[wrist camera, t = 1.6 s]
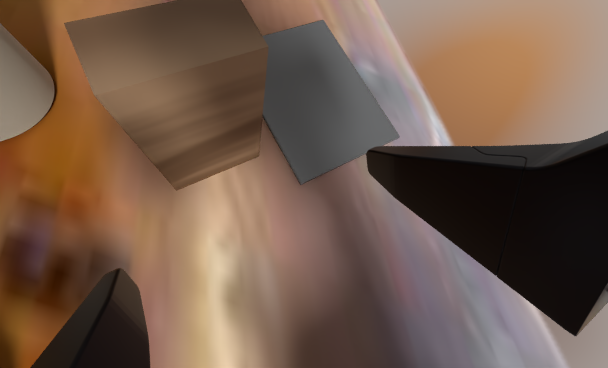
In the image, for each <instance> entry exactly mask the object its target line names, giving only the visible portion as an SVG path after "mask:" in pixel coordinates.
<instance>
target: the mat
mask: <svg viewBox="0 0 608 368" xmlns="http://www.w3.org/2000/svg"><path fill="white" fill-rule="evenodd" d="M263 38H264V40H265V41H266V43H267V45H268V46H269V48H268V59H267V70H266V81H265V93H264V104H263V115H262V116H263V118H264V120H265V121H266V123H267V125H268V127H269V129H270V131H271V132H272V134H273V136H274V138H275V140H276V141H277V143H278V145H279V147H280V149H281V150H282V152H283V154H284V156H285V158H286V159H287V161H288V163H289V165H290V167H291V168H292V170H293V172H294V174H295V176H296V177H297V179H298V181H299V183H300V185H301V184H303V183H305V182H307V181H309V180H312V179H314V178H316V177H318V176H320V175H322V174H324V173H326V172H328V171H330V170H333V169H335V168H337V167H339V166H341V165H343V164H345V163H347V162H349V161H351V160H353V159H356V158H358V157H360V156H362V155H364V154H366V153H367V151H368V150H369V149H371V148H373V147H376V146H383V145H385V144H387V143H389V142H391V141H393V140H395V139H397V138H399V137H400V136H399V134H398V133H397V131H396V130H395V128H394V127H393V125H392V124H391V122H390V121H389V119H388V118H387V116H386V115H385V113H384V112H383V110H382V109H381V107H380V105H379V104H378V102H377V101H376V99H375V98H374V96H373V95H372V93H371V92H370V90H369V89H368V87H367V86H366V84H365V83H364V81H363V80H362V78H361V77H360V75H359V74H358V72H357V71H356V69H355V67H354V66H353V64H352V63H351V61H350V60H349V58H348V57H347V55H346V54H345V52H344V51H343V49H342V48H341V46H340V45H339V43H338V42H337V40H336V39H335V37H334V36H333V34H332V33H331V31H330V29H329V28H328V26H327V25H326V23H325V22H324V20H321V21H317V22H314V23H310V24H306V25H302V26H299V27H295V28H291V29H287V30H284V31H280V32H276V33H272V34H269V35H265V36H263Z"/></svg>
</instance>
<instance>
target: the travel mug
mask: <svg viewBox="0 0 608 368" xmlns="http://www.w3.org/2000/svg"><path fill="white" fill-rule="evenodd" d="M53 99H54V83H53V80H52V78H51V76H50V74H49V73H48V71H47V70H46V69H45V68H44V67H43V66H42V65H41V64H40V63H39V62H38V61H37V60H36V59H35V58H34V57H33V56H32V55H31V54H30V53H29V52H28V51H27V50H26V49H25V48H24V47H23V46H22V45H21V44H20V43H19V42H18V41H17V40H16V39H15V38H14V37H13V36H12V35H11V34H10V33H9V32H8V31H7V30H6V29H5V28H4V27H3V26H2V24H1V23H0V141H3V140H6V139H9V138H12V137H15V136H17V135H19V134H21V133H23V132H25V131H27V130H28V129H30V128H31V127H33V126H34V125H35V124H37V123H38V122H39V121H40V120H41V119H42V118H43V117H44V116H45V114H46V113H47V112H48V110H49V108H50V107H51V104H52V102H53Z"/></svg>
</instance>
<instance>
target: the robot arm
mask: <svg viewBox="0 0 608 368" xmlns="http://www.w3.org/2000/svg"><path fill="white" fill-rule="evenodd" d="M366 156H367V167H368V171H369V173H370V174H371V175H372V176H373V177H374V178H375V179H376V180H377V181H378V182H379V183H380V184H381V185H382V186H383V187H384V188H385V189H386V190H387V191H388V192H389V193H390V194H391V195H393V196H394V197H395V198H396V199H397V200H398V201H400V202H401V203H402V204H404V205H405V206H406V207H407V208H409V209H410V210H411V211H413V212H414V213H415V214H416V215H418V216H419V217H420V218H422V219H423V220H424V221H426V222H427V223H428V224H429V225H431V226H432V227H433V228H435V229H436V230H437V231H438V232H440V233H441V234H442V235H444V236H445V237H446V238H448V239H449V240H450V241H451V242H453V243H454V244H455V245H457V246H458V247H459V248H461V249H462V250H463V251H464V252H466V253H467V254H468V255H470V256H471V257H472V258H473V259H475V260H476V261H477V262H479V263H480V264H481V265H483V266H484V267H485V268H486V269H488V270H489V271H490V272H492V273H493V274H494V275H497V277H498V278H499V279H500V280H502V281H503V282H504V283H506V284H507V285H508V286H509V287H511V288H512V289H513V290H515V291H516V292H517V293H519V294H520V295H521V296H522V297H524V298H525V299H526V300H528V301H529V302H530V303H531V304H533V305H534V306H535V307H537V308H538V309H539V310H541V311H542V312H543V313H544V314H546V315H547V316H548V317H550V318H551V319H552V320H553V321H555V322H556V323H557V324H559V325H560V326H561V327H563V328H564V329H565V330H567V331H568V332H569V333H571V334H573V335H574V336H577V335H578V334H579V333H580V332H581V331H582V330H583V328H584V327H585V326H586V325H587V324H588V323H589V322H590V321H591V320H592V319H593V318H594V317H595V316H596V315H597V313H598V312H599V311H600V310H601V309H602V308H603V307H604V306H605V305H606V304H607V303H608V131H606V132H604V133H601V134H599V135H597V136H594V137H592V138H589V139H586V140H582V141H578V142H573V143H563V144H542V145H518V146H517V145H515V146H472V147H471V146H376V147H373V148H371V149H369V150H368V151H367V153H366ZM31 368H150V353H149V338H148V332H147V326H146V321H145V316H144V311H143V306H142V300H141V295H140V291H139V288H138V287H137V285H136V284H135V283H134V281H133V280H132V279H131V278H130V277H129V275H128V274H127V273H126V272H125V271H124V270H123V269H121V268H118V269H115V270H113V271H111V272H109V273H107V274H105V275H104V276H103V277H102V279H101V280H100V281H99V282H98V284H97V285H96V286H95V287H94V289H93V290H92V291H91V292H90V294H89V295H88V296H87V297H86V299H85V300H84V301H83V302H82V304H81V305H80V306H79V307H78V309H77V310H76V311H75V312H74V314H73V315H72V316H71V318H70V319H69V320H68V321H67V323H66V324H65V325H64V326H63V328H62V329H61V330H60V331H59V333H58V334H57V335H56V336H55V338H54V339H53V340H52V341H51V343H50V344H49V345H48V346H47V348H46V349H45V350H44V351H43V353H42V354H41V355H40V356H39V358H38V359H37V360H36V361H35V363H34V364H33V365H32V366H31Z"/></svg>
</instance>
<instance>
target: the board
mask: <svg viewBox="0 0 608 368" xmlns="http://www.w3.org/2000/svg"><path fill="white" fill-rule="evenodd" d="M64 24H65V27H66V29H67V32H68V34H69V36H70V39H71V41H72V44H73V46H74V48H75V51H76V53H77V55H78V58H79V60H80V63H81V65H82V67H83V70H84V72H85V74H86V77H87V79H88V82H89V84H90V86H91V89H92V91H93V94H94V96H95V97H96V98H97V99H98V100H99V102H100V103H101V104H102V105H103V106H104V107H105V109H106V110H107V111H108V112H109V113H110V114H111V115H112V117H113V118H114V119H115V120H116V121H117V122H118V124H119V125H120V126H121V127H122V128H123V129H124V130H125V132H126V133H127V134H128V135H129V136H130V137H131V139H132V140H133V141H134V142H135V143H136V144H137V145H138V147H139V148H140V149H141V150H142V151H143V152H144V153H145V155H146V156H147V157H148V158H149V159H150V160H151V162H152V163H153V164H154V165H155V166H156V167H157V168H158V170H159V171H160V172H161V173H162V174H163V175H164V177H165V178H166V179H167V180H168V181H169V182H170V183H171V185H172V186H173V187H174V188H175V189H176V190H179V189H181V188H184V187H186V186H189V185H191V184H193V183H196V182H198V181H201V180H203V179H205V178H208V177H210V176H213V175H215V174H217V173H220V172H222V171H225V170H227V169H229V168H232V167H234V166H237V165H239V164H241V163H244V162H246V161H249V160H251V159H253V158H256V157H258V156H259V149H260V138H261V127H262V115H263V104H264V93H265V81H266V70H267V59H268V48H269V46H268V45H267V43H266V41H265V40H264V38H263V36H262V35H261V33H260V31H259V30H258V28H257V26H256V25H255V23H254V21H253V20H252V18H251V16H250V14H249V13H248V11H247V9H246V8H245V6H244V4H243V3H242V1H241V0H177V1H172V2H167V3H162V4H157V5H152V6H147V7H142V8H137V9H132V10H127V11H122V12H117V13H112V14H107V15H102V16H97V17H92V18H87V19H82V20H77V21H72V22H67V23H64Z"/></svg>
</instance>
